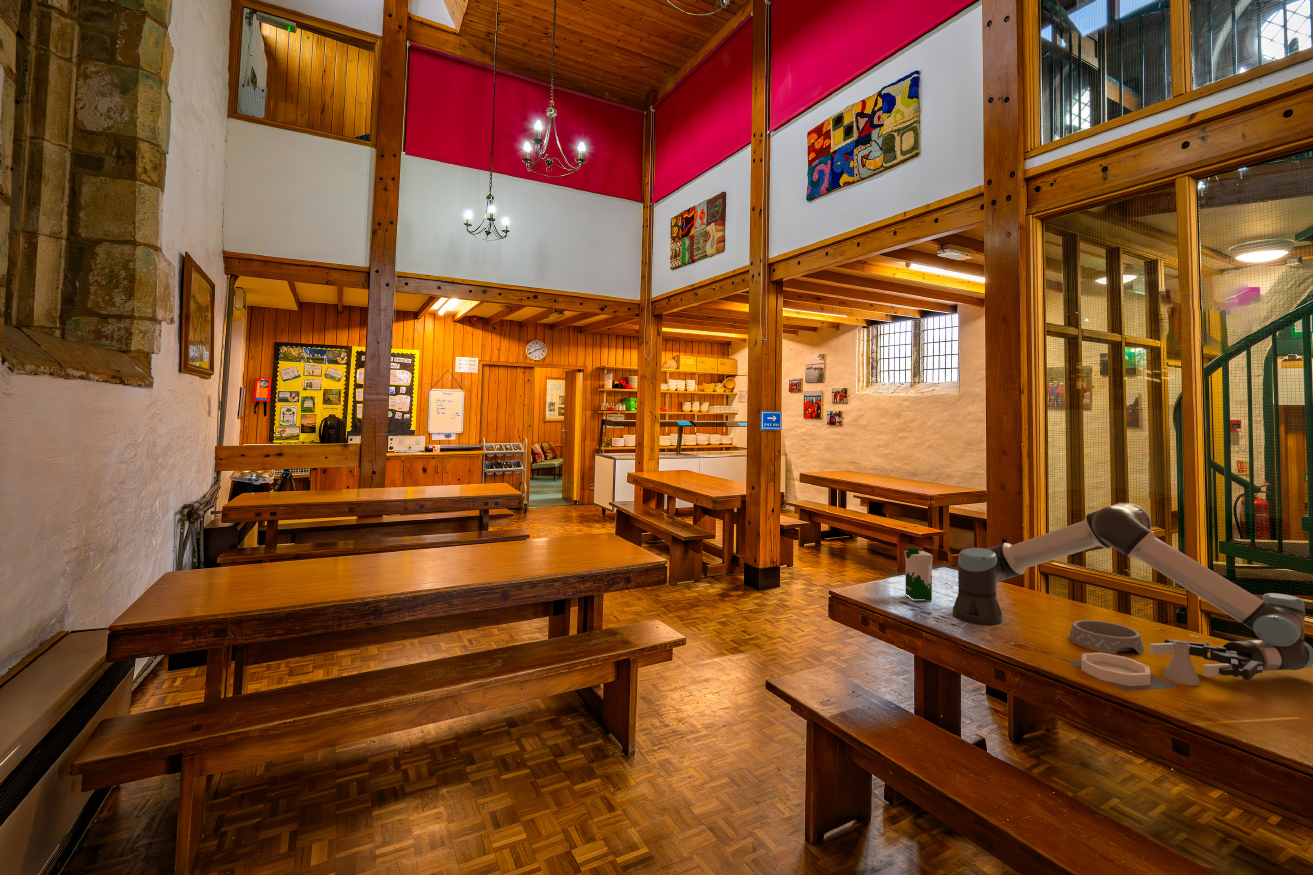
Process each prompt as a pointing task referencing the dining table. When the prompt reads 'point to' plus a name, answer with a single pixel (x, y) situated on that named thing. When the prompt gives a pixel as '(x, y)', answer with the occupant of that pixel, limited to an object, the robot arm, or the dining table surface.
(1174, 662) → the flask
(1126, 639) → the dog bowl
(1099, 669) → the bowl
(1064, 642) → the dining table surface
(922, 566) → the milk carton
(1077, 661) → the mat
